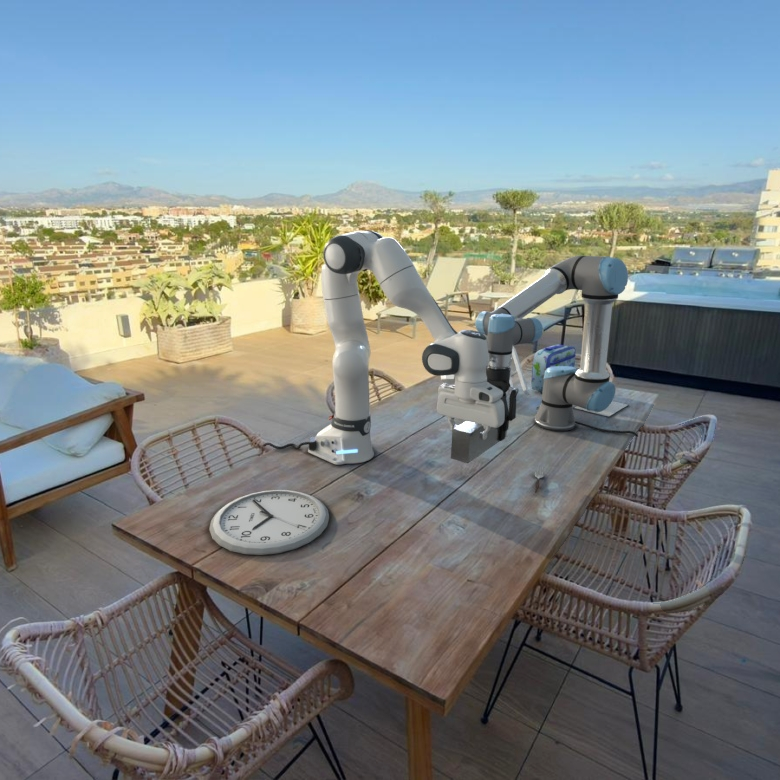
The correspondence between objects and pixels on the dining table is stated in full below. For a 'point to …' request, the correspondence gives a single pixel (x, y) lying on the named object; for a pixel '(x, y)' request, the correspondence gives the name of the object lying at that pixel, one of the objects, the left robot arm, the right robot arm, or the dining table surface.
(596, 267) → the right robot arm
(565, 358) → the lunch box
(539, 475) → the fork
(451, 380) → the white plastic object
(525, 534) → the dining table surface
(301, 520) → the wall clock
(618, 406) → the invitation card
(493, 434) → the bar
